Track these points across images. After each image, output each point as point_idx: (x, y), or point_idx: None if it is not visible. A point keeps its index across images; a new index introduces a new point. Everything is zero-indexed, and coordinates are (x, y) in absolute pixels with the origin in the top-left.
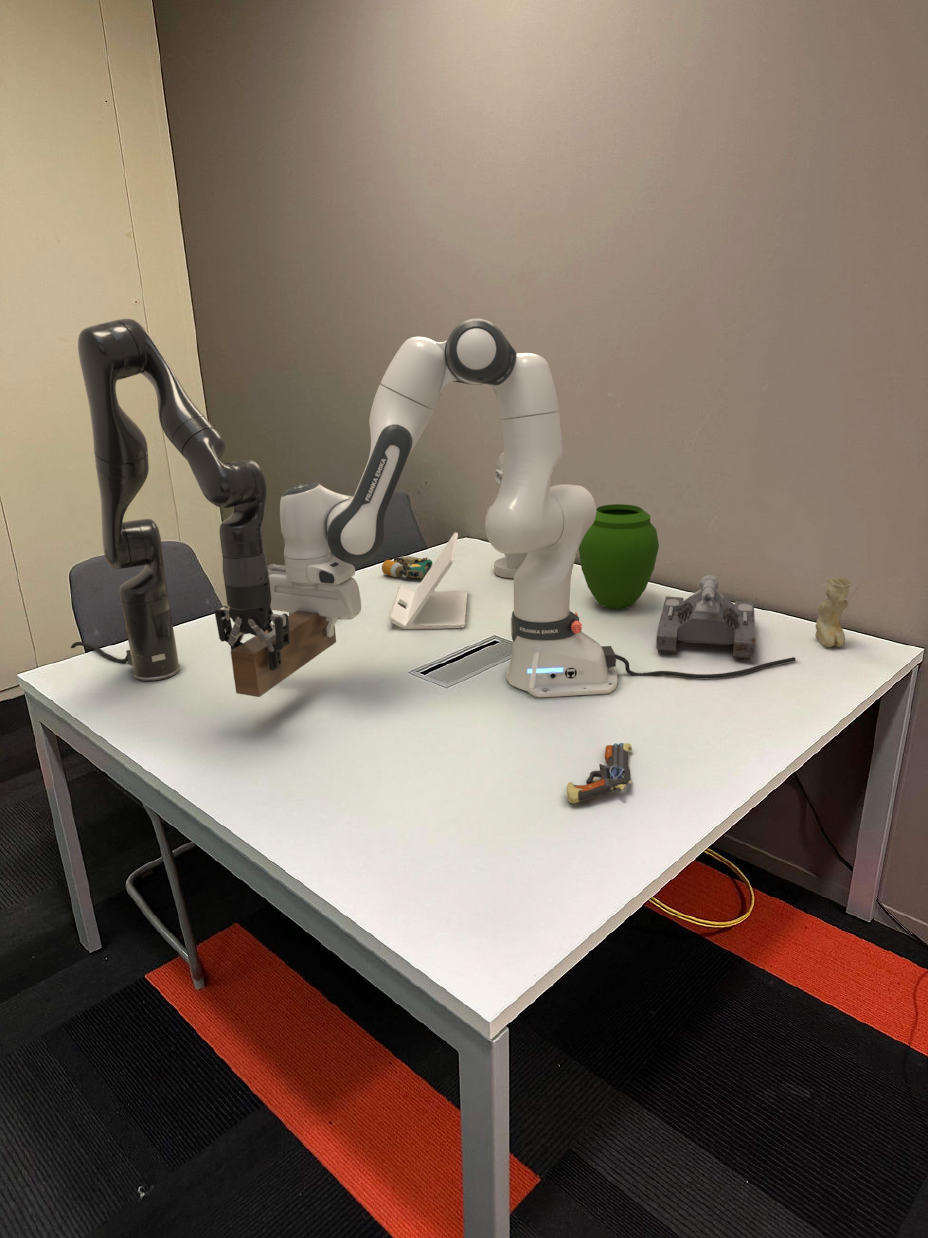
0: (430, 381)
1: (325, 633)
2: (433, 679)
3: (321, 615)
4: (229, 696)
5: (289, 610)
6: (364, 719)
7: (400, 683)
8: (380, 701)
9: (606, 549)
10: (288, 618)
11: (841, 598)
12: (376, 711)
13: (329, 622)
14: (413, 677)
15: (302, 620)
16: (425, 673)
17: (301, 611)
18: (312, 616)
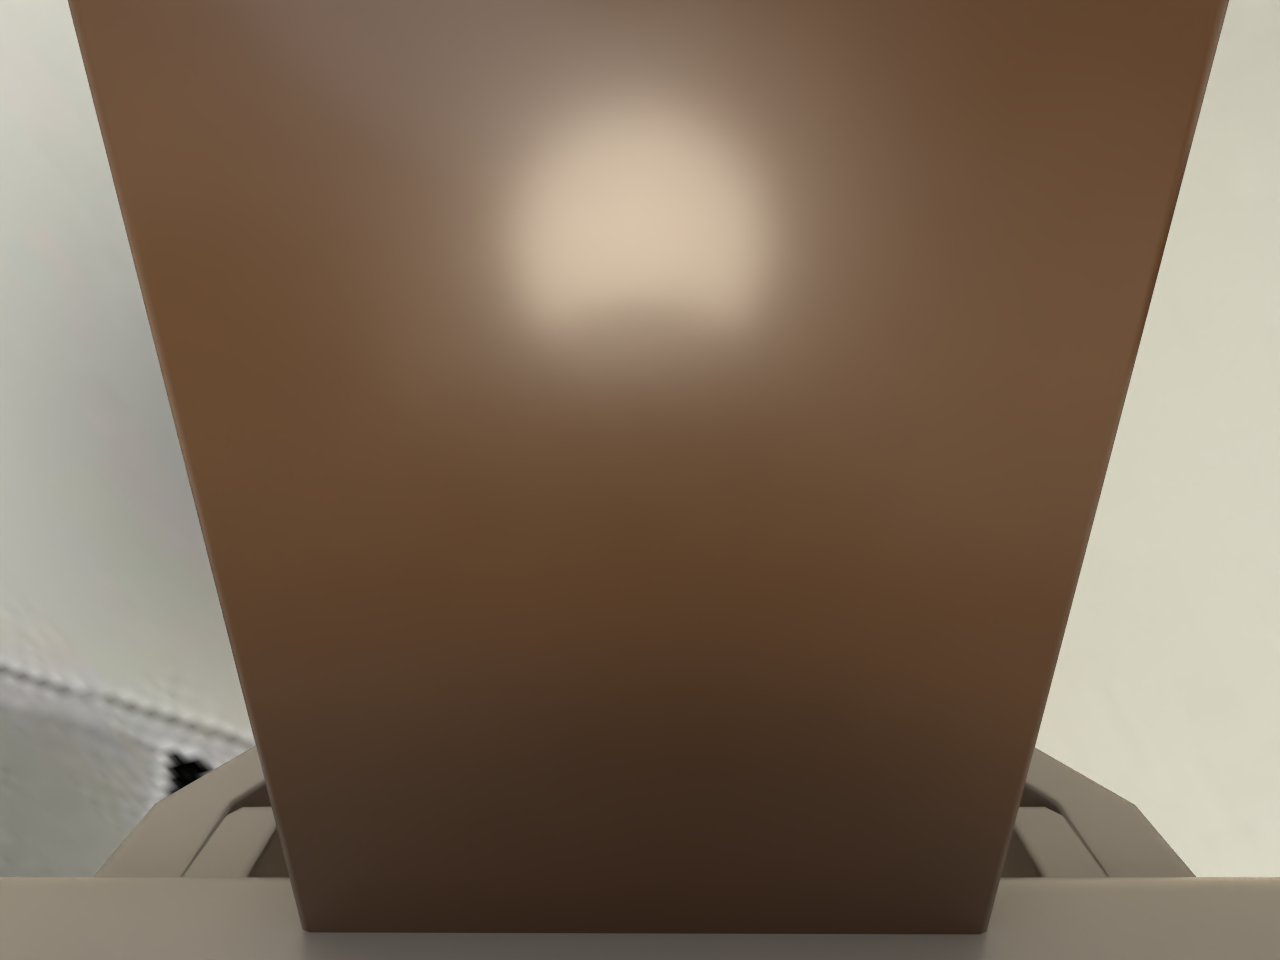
0: None
1: None
2: (88, 719)
3: (261, 885)
4: (1216, 91)
5: (1214, 911)
6: (56, 90)
7: (216, 628)
8: (155, 381)
9: None
10: (973, 302)
11: None
12: (74, 238)
13: (234, 795)
14: (203, 710)
15: (312, 285)
16: (178, 766)
17: (828, 914)
18: (270, 708)
